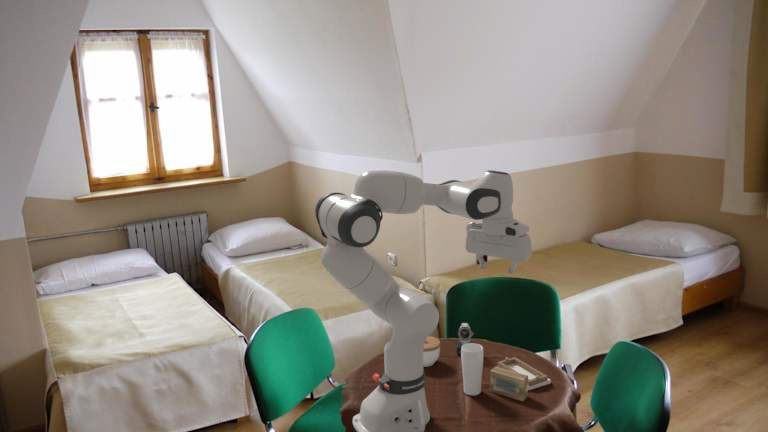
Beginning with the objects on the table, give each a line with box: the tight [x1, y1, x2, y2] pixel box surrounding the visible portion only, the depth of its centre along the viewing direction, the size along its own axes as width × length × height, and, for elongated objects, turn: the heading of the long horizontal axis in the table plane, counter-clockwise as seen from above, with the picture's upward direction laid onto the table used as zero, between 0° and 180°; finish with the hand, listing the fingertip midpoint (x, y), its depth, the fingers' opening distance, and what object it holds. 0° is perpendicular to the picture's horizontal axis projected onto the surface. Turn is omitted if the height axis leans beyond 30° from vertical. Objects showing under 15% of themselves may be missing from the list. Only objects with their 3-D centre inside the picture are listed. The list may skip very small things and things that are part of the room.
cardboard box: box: [489, 366, 529, 402], centre depth 187 cm, size 4×11×7 cm, turn 52°
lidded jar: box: [423, 335, 441, 368], centre depth 210 cm, size 11×11×9 cm
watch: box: [456, 322, 474, 357], centre depth 216 cm, size 6×8×11 cm
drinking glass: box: [460, 342, 484, 397], centre depth 188 cm, size 7×7×15 cm
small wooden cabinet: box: [496, 356, 552, 391], centre depth 198 cm, size 10×16×4 cm, turn 27°
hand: (497, 270), depth 181 cm, fingers open, 8 cm apart
